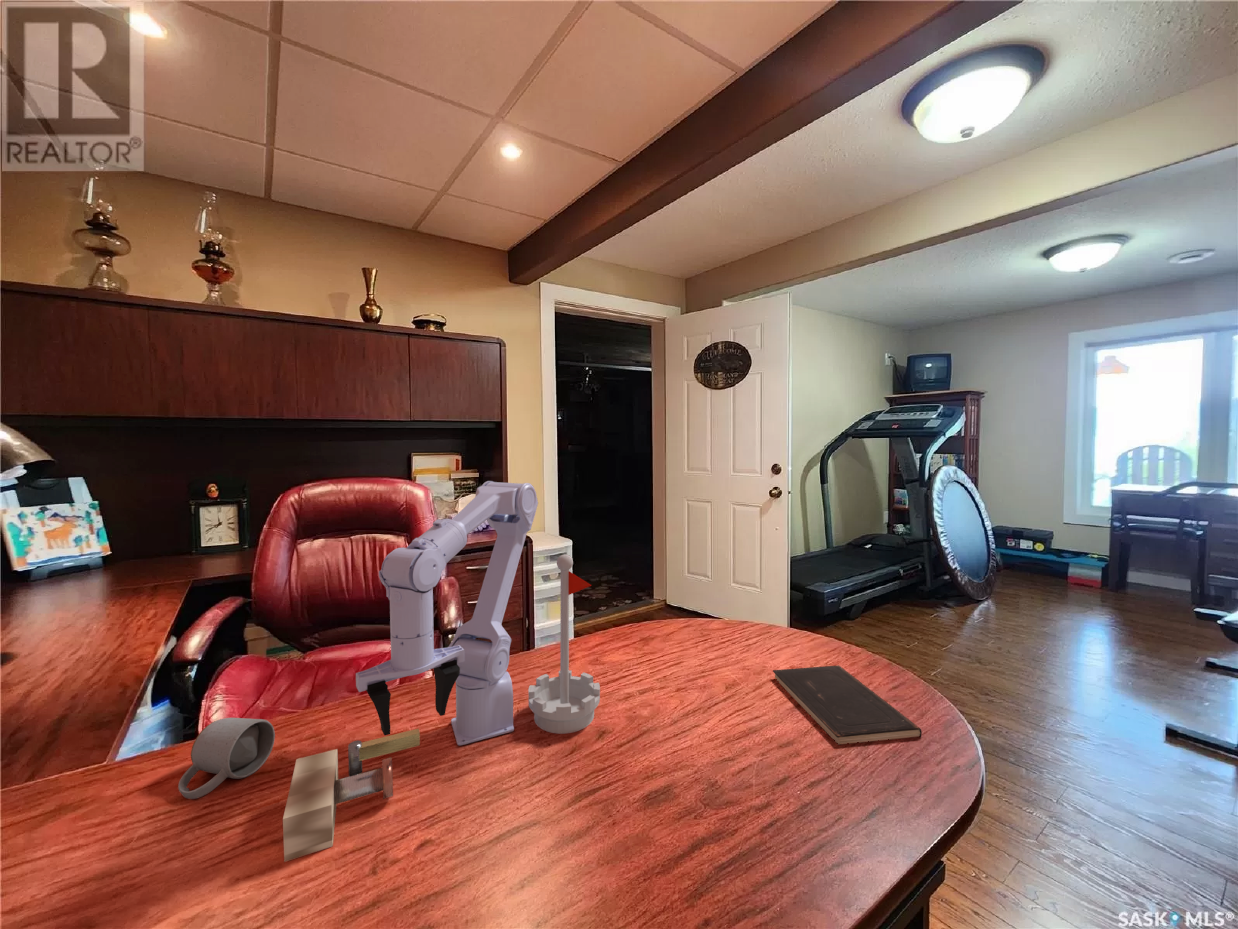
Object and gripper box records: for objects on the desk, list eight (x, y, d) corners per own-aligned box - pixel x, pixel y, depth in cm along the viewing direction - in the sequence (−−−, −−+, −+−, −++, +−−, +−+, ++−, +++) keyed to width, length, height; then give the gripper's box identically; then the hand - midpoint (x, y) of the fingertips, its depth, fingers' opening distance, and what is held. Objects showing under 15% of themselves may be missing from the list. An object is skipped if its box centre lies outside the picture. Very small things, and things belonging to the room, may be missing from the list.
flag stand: (515, 729, 85) (514, 560, 83) (547, 692, 97) (547, 544, 96) (584, 743, 81) (585, 567, 79) (609, 703, 94) (610, 549, 92)
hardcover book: (836, 749, 81) (837, 735, 81) (772, 680, 104) (772, 670, 104) (921, 740, 84) (922, 727, 84) (840, 675, 106) (841, 665, 106)
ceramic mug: (235, 749, 79) (232, 704, 78) (277, 756, 77) (275, 710, 77) (162, 798, 68) (158, 746, 68) (209, 807, 67) (205, 754, 66)
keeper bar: (419, 752, 78) (418, 725, 78) (420, 759, 77) (419, 731, 76) (349, 771, 74) (348, 742, 74) (348, 779, 72) (347, 749, 72)
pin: (391, 781, 71) (391, 750, 71) (393, 804, 67) (392, 770, 67) (325, 801, 67) (324, 767, 67) (321, 825, 63) (320, 790, 63)
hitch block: (338, 784, 71) (337, 749, 71) (332, 846, 60) (331, 804, 60) (297, 795, 69) (296, 759, 69) (284, 862, 58) (282, 819, 58)
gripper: (452, 611, 78) (453, 693, 79) (350, 634, 69) (352, 727, 69) (469, 625, 72) (470, 713, 73) (361, 652, 63) (363, 752, 64)
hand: (414, 721), depth 71 cm, fingers open, 7 cm apart
